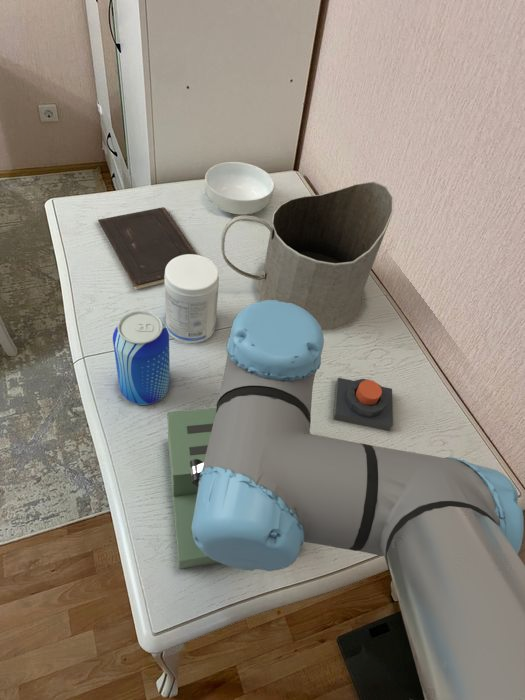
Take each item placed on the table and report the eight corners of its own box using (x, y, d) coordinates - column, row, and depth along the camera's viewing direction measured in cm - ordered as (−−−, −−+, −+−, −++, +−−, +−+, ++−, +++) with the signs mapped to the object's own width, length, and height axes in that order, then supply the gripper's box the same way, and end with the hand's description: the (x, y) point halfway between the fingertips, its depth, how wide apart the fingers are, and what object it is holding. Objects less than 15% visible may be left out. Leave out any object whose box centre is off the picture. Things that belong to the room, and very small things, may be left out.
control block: (388, 433, 88) (396, 419, 84) (331, 422, 88) (338, 407, 84) (387, 397, 93) (395, 382, 90) (334, 386, 93) (340, 371, 90)
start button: (378, 407, 86) (382, 401, 84) (355, 403, 86) (358, 396, 84) (378, 389, 89) (381, 382, 87) (356, 384, 89) (359, 377, 87)
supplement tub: (186, 303, 102) (187, 245, 91) (224, 324, 99) (230, 267, 88) (155, 331, 96) (152, 273, 85) (195, 354, 94) (198, 297, 82)
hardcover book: (134, 293, 102) (133, 285, 100) (99, 228, 114) (97, 219, 112) (206, 275, 108) (207, 267, 106) (165, 214, 120) (165, 206, 118)
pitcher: (376, 329, 104) (421, 230, 85) (226, 341, 97) (238, 235, 78) (342, 257, 118) (373, 158, 99) (208, 262, 111) (215, 156, 92)
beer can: (147, 417, 84) (142, 356, 71) (109, 392, 86) (98, 328, 74) (179, 385, 89) (180, 323, 76) (143, 362, 91) (138, 298, 79)
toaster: (297, 551, 72) (312, 523, 65) (178, 570, 69) (179, 543, 61) (271, 437, 84) (281, 401, 76) (168, 448, 80) (167, 411, 72)
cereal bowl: (218, 229, 119) (220, 204, 114) (194, 190, 128) (195, 165, 123) (281, 219, 125) (286, 194, 120) (254, 182, 134) (257, 158, 129)
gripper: (308, 393, 54) (275, 488, 72) (186, 404, 51) (183, 501, 69) (327, 455, 49) (287, 541, 67) (194, 472, 46) (189, 557, 64)
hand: (234, 521), depth 68 cm, fingers closed
